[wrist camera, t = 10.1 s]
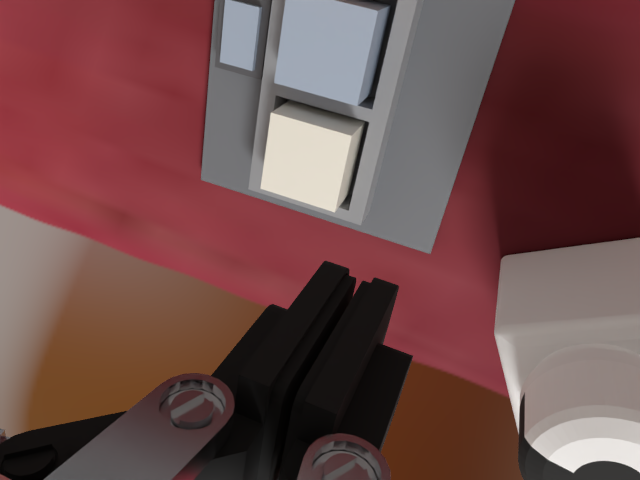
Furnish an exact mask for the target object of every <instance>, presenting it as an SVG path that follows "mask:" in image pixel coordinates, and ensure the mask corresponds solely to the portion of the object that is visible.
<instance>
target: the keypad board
mask: <svg viewBox="0 0 640 480" xmlns="http://www.w3.org/2000/svg"><path fill="white" fill-rule="evenodd" d="M371 1H375V2H379V3H383V4H387V5H391V7H390V12H389V16H388V20H387V25H386V29H385V34H384V38H383V42H382V47H381V51H380V55H379V60H378V64H377V68H376V73H375V77H374V82H373V86H372V90H371V94H370V95H369V96H368V97H367V98H365V99H364V100H363V101H362V102H361V103H360V104H359V105H358V106H355V105H351V104H348V103H344V102H340V101H337V100H333V99H330V98H326V97H323V96H319V95H316V94H312V93H308V92H305V91H301V90H298V89H294V88H291V87H287V86H283V85H280V84H276V83H274V80H275V73H276V65H277V58H278V51H279V43H280V36H281V29H282V22H283V14H284V7H285V0H215V3H214V16H213V29H212V42H211V55H210V68H209V81H208V94H207V107H206V120H205V133H204V146H203V159H202V172H201V180H203V181H206V182H210V183H213V184H216V185H219V186H222V187H225V188H228V189H231V190H234V191H237V192H240V193H243V194H247V195H250V196H253V197H256V198H259V199H262V200H265V201H268V202H271V203H274V204H277V205H280V206H284V207H287V208H290V209H293V210H296V211H299V212H302V213H305V214H308V215H311V216H314V217H317V218H321V219H324V220H327V221H330V222H333V223H336V224H339V225H342V226H345V227H348V228H351V229H355V230H358V231H361V232H364V233H367V234H370V235H373V236H376V237H379V238H382V239H385V240H388V241H392V242H395V243H398V244H401V245H404V246H407V247H410V248H413V249H416V250H419V251H422V252H425V253H429V254H430V253H431V250H432V247H433V244H434V241H435V238H436V235H437V232H438V229H439V226H440V223H441V220H442V217H443V214H444V211H445V208H446V205H447V202H448V199H449V196H450V193H451V190H452V187H453V184H454V181H455V178H456V175H457V173H458V170H459V167H460V164H461V161H462V158H463V155H464V152H465V149H466V146H467V143H468V140H469V137H470V134H471V131H472V128H473V125H474V122H475V119H476V116H477V113H478V110H479V107H480V104H481V101H482V98H483V95H484V92H485V89H486V86H487V83H488V80H489V77H490V74H491V71H492V68H493V65H494V62H495V59H496V56H497V53H498V50H499V47H500V44H501V41H502V38H503V35H504V32H505V29H506V26H507V23H508V20H509V17H510V14H511V11H512V8H513V5H514V2H515V0H371ZM290 100H292V101H295V102H299V103H302V104H306V105H309V106H313V107H316V108H320V109H323V110H327V111H330V112H334V113H337V114H341V115H344V116H348V117H351V118H355V119H358V120H362V121H365V125H364V129H363V134H362V138H361V142H360V147H359V151H358V155H357V160H356V164H355V168H354V173H353V177H352V181H351V186H350V190H349V194H348V195H347V197H346V198H345V199H344V201H343V202H342V203H341V205H340V206H339V207H338V209H337V210H336V212H332V211H329V210H326V209H322V208H319V207H316V206H313V205H310V204H307V203H304V202H301V201H298V200H294V199H291V198H288V197H285V196H282V195H279V194H276V193H273V192H269V191H266V190H263V189H260V188H261V180H262V173H263V166H264V159H265V152H266V144H267V137H268V130H269V123H270V115H271V112H272V111H274V110H276V109H277V108H279V107H280V106H282V105H283V104H285V103H286V102H288V101H290Z"/></svg>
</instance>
